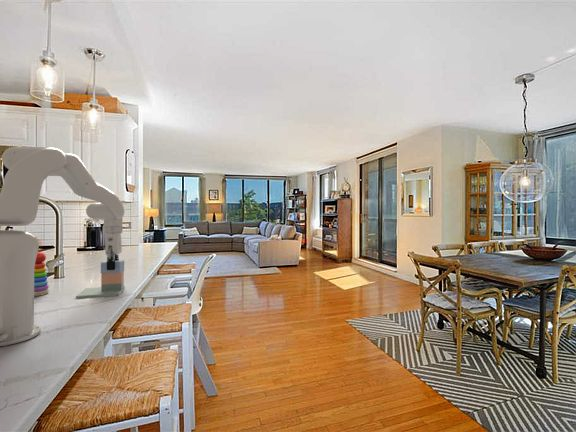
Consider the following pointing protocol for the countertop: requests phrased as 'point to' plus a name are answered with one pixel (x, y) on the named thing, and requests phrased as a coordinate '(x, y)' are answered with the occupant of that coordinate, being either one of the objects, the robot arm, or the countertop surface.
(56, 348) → the countertop surface
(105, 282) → the terracotta brick
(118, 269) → the slate brick
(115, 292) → the build plate
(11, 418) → the countertop surface
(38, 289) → the stacking toy
